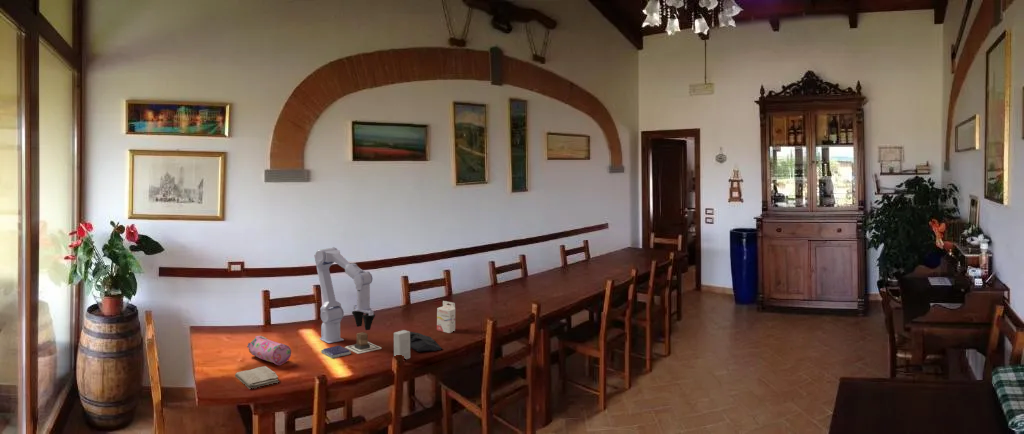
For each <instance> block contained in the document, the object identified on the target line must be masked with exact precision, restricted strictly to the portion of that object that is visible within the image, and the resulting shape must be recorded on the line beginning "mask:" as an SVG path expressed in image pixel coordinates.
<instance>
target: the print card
mask: <svg viewBox="0 0 1024 434" xmlns="http://www.w3.org/2000/svg"><path fill="white" fill-rule="evenodd" d="M368 344H370V348H366V349H362V350H359V349H357V348H355V346H354V344H352V345H347V346H344V348H346V349H348V350H349V351H351V352H353V353H355V354H358V355H359V354H364V353H369V352H373V351H376V350H381V349H382V347H381V346H379V345H376V344H374V343H372V342H370V341H368Z"/></svg>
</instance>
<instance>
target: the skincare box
mask: <svg viewBox="0 0 1024 434" xmlns="http://www.w3.org/2000/svg"><path fill="white" fill-rule="evenodd" d="M410 332H411V331H410V330H406V329H401V330H399V331H395V332H393V357H394V356H396V355H402V356H404V358H405V359H406V360H409V359H411V348H410Z"/></svg>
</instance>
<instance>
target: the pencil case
mask: <svg viewBox="0 0 1024 434" xmlns="http://www.w3.org/2000/svg"><path fill="white" fill-rule="evenodd" d="M247 348H248V352H249V353H250V354H251V355H252V356H254V357H256V358H259V359H260V360H263V361H266V362H270V363H272V364H273V363H274V364H275V365H277V366H281V365H284V364H286V362H287V363H288V361H289V360H290V358H291V357H292V349H291V347H290V346H289V345H286V344H284V343H279V342H277V341H273V340H271V339H268V337H265V336H262V335H256V336H255V337H254V339H253V340H252V341H251V342H248V344H247Z"/></svg>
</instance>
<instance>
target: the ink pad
mask: <svg viewBox="0 0 1024 434" xmlns="http://www.w3.org/2000/svg"><path fill="white" fill-rule="evenodd" d="M321 354H323V355H324V356H327V357H329V358H330V359H335V358H339V357H344V356H349V355H351V354H352V351H351V350H349V349H347V348H345V346H341V345H335V346H330V347H327V348H323V349H321Z"/></svg>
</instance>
